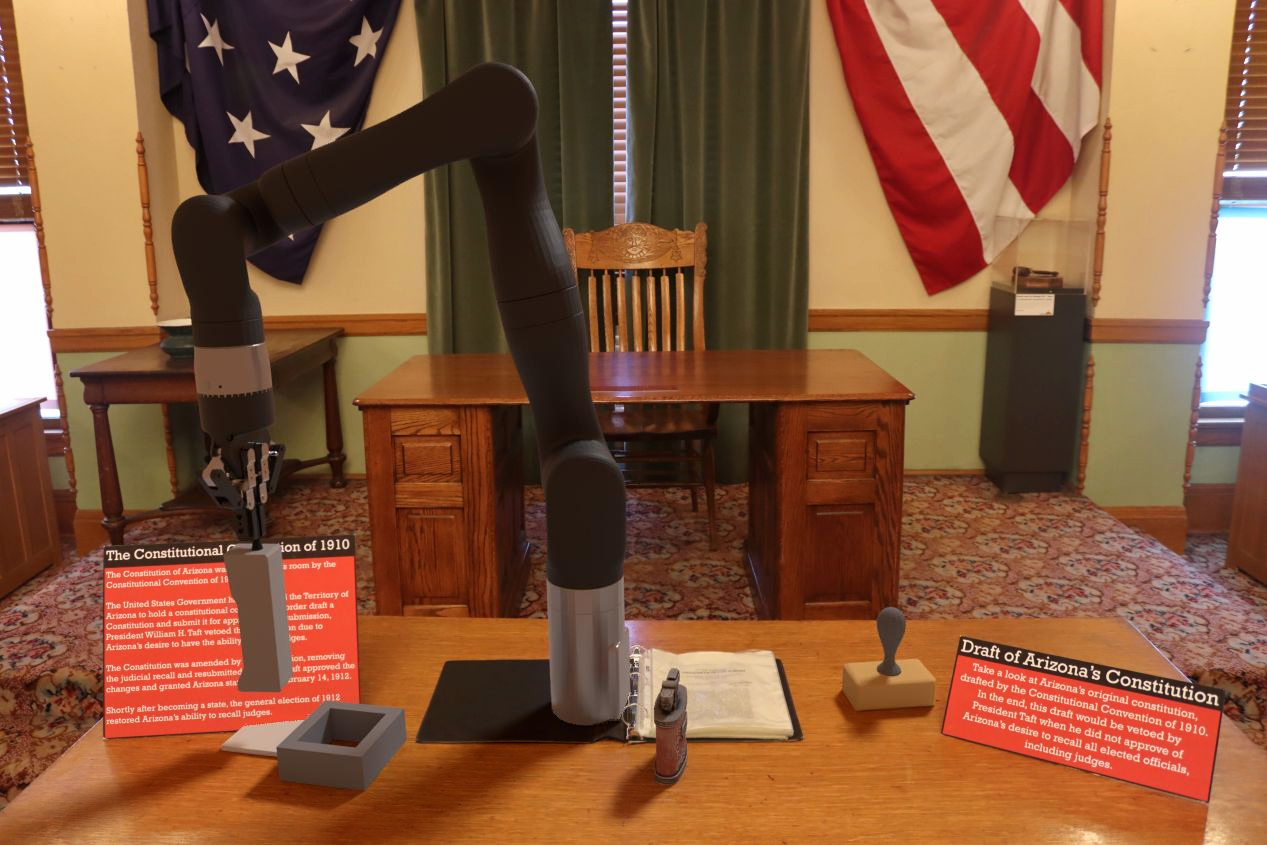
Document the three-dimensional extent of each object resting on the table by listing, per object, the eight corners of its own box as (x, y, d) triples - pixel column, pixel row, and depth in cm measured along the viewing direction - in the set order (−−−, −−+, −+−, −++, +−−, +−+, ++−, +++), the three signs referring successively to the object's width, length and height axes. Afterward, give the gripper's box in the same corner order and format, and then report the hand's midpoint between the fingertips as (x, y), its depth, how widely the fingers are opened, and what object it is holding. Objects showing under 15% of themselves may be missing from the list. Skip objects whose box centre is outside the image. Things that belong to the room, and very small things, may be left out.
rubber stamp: (916, 684, 118) (921, 596, 116) (935, 707, 113) (940, 615, 110) (841, 689, 117) (844, 601, 115) (856, 712, 112) (859, 620, 109)
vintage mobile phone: (251, 676, 109) (230, 473, 104) (293, 677, 109) (274, 473, 103) (237, 692, 105) (214, 482, 100) (280, 693, 105) (260, 482, 100)
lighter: (680, 786, 98) (680, 700, 95) (649, 783, 98) (648, 697, 96) (691, 744, 105) (691, 664, 103) (662, 742, 106) (661, 661, 104)
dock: (406, 739, 107) (404, 708, 106) (364, 790, 98) (361, 757, 97) (328, 731, 109) (325, 700, 108) (279, 780, 100) (276, 747, 99)
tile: (322, 720, 112) (321, 716, 112) (284, 757, 104) (283, 752, 104) (263, 714, 113) (262, 709, 113) (221, 750, 106) (221, 745, 106)
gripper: (226, 398, 92) (245, 561, 96) (300, 375, 105) (314, 520, 109) (161, 396, 94) (182, 557, 98) (242, 374, 107) (258, 517, 111)
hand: (252, 537), depth 103 cm, fingers closed on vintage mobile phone, 1 cm apart
